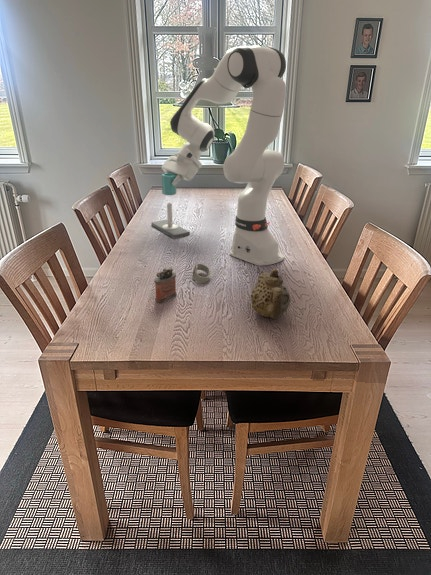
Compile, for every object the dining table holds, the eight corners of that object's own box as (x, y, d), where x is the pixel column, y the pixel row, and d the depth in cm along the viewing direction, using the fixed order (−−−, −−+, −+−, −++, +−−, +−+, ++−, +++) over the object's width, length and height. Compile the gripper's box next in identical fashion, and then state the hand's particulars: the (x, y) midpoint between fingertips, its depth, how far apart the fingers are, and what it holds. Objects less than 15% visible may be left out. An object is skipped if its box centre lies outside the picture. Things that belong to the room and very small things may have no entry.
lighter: (171, 292, 133) (170, 263, 129) (178, 295, 131) (178, 266, 127) (152, 301, 128) (151, 271, 123) (160, 304, 126) (159, 275, 121)
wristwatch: (192, 272, 147) (192, 259, 145) (210, 272, 147) (210, 260, 145) (192, 284, 139) (192, 270, 137) (211, 284, 139) (211, 271, 137)
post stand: (189, 235, 181) (189, 207, 175) (174, 238, 177) (173, 209, 171) (166, 222, 195) (165, 196, 189) (151, 225, 191) (150, 198, 185)
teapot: (245, 298, 131) (248, 254, 124) (280, 298, 132) (285, 254, 125) (255, 336, 112) (259, 286, 105) (297, 335, 113) (304, 286, 106)
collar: (178, 194, 178) (178, 175, 174) (167, 195, 175) (166, 176, 171) (171, 191, 182) (171, 172, 178) (160, 192, 179) (159, 174, 175)
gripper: (169, 149, 182) (151, 173, 181) (196, 156, 167) (175, 183, 167) (178, 158, 186) (160, 182, 185) (204, 166, 172) (185, 192, 171)
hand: (167, 183), depth 176 cm, fingers closed on collar, 6 cm apart
